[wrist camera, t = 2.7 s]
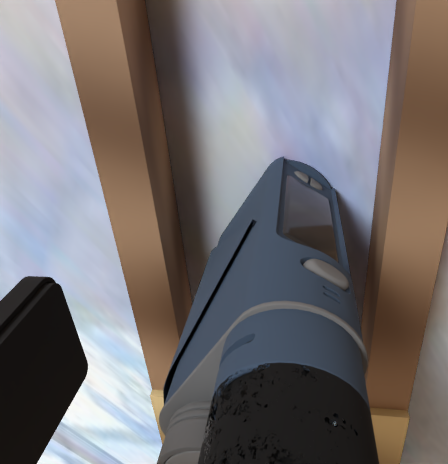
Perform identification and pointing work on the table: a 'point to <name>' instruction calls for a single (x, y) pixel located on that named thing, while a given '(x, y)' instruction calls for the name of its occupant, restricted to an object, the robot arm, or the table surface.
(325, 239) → the vaping device
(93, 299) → the table surface
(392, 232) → the rail channel
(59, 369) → the robot arm
